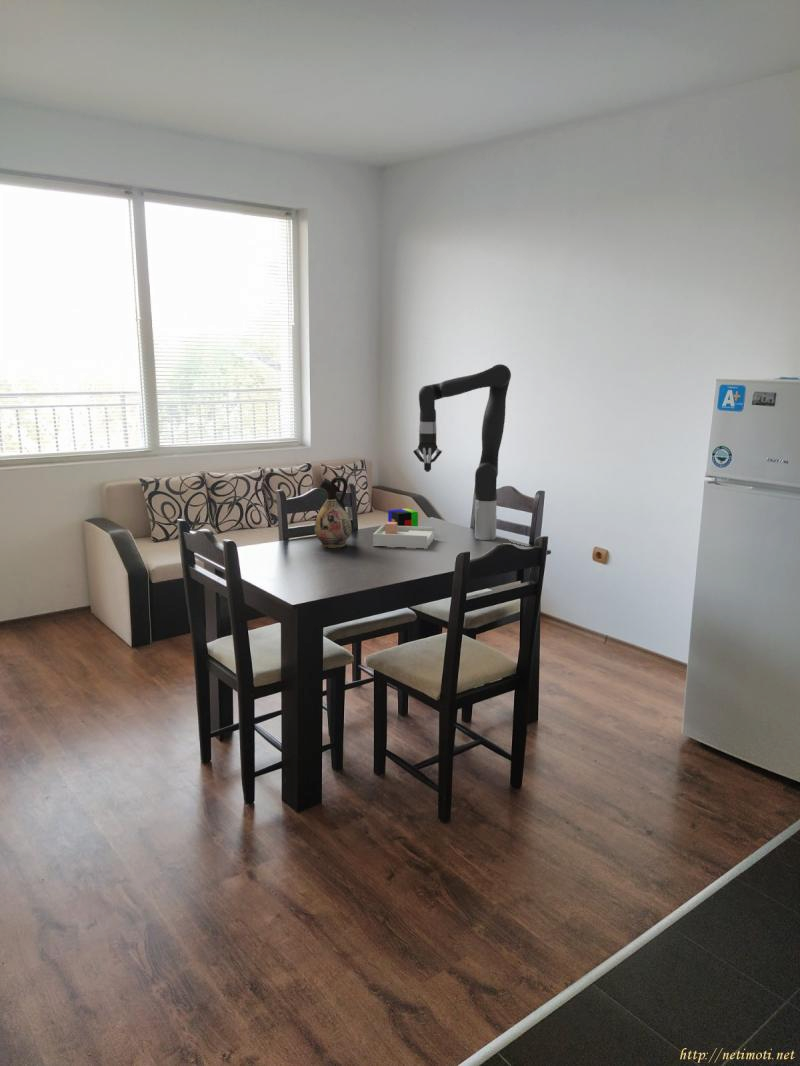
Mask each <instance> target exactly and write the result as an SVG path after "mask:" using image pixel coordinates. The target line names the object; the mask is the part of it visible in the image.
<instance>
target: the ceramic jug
mask: <svg viewBox="0 0 800 1066" xmlns="http://www.w3.org/2000/svg"><path fill="white" fill-rule="evenodd" d="M337 482H340V483H342V484H343V487H342V491H341V494H340V497H339V498H338V496H337V493H338V492H340V487H338V485H337V484H336V483H337ZM316 488H317V489H320V490H323V491H325V492H326V493H327V498H326V501H324V503H323V505H322V506H321V508H320V509H319V512H318V513H317V516H316V519H315V523H314V533H315V535H316V537H317V539H318V540H319V541H320V543H321V546H322V547H323V548H325V547H328V548H327V549H337V547H338V548H342V547H345V546H346V542H347V541H348V539H349V537H350V536H351V535H352V521H351V518H350V516H349V514H348V512H347V509H346V505H345V501H344V499H345V498H346V493H347V489H348V482H347V478H345V477H343V476H342V475H339V476H334V477H333V478H332V480H331V481H328V480H327V479H323V480H322V482H321V483H320V484H318V486H317V487H316Z"/></svg>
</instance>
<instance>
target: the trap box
mask: <svg viewBox="0 0 800 1066" xmlns="http://www.w3.org/2000/svg"><path fill="white" fill-rule="evenodd" d="M434 529H435V527H434V526H418V527H415V526H397V533H396V534H385V524H382V525H381V526H380V527H379V528H378V529H377V530H376V531H375V532H373V533H372V546H387V547H386V548H395V547H406V548H405V549H416V548H424V549H423V550H428V548H429V547H430V546H431V543H432V542H433V541H434V540H435V538H434V535H435V534H434V533H435V532H434ZM433 539H434V540H433ZM428 546H429V547H428Z"/></svg>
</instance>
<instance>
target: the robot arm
mask: <svg viewBox="0 0 800 1066" xmlns="http://www.w3.org/2000/svg"><path fill="white" fill-rule="evenodd" d="M511 378H512V373H511V370H510V368H509V367H508V366H507V365H505V364H499V363H498V364H496V365H493V366H492V367H490V368H487V369H485V370H483V371H480V372H478V373H474V374H471V375H470V374H469V375H465V376H460V377H455V378H451V379H450V378H449V379H447V380H444V381H441V382H439V383H433V384H428V385H424V386H422V387H421V388H420V389H419V392H418V403H419V424H418V425H419V427H418V428H419V429H418V433H419V434H418V437H419V438H418V440H419V441H418V443H419V444H418V446H417V448H416V449H414V450H413V454H414V456H416V458H417V459H418V460H419V461H420V462H421V463H424V464H423V469H424V471H425V472H427V473H428V472H429V473H430V471H431V470H432V463H434V462H435V461H437V459H438V458H439V456H440V455H441V454H442V453H443V450H441V449H439V448H438V445H437V411H436V408H435V404H436V401H437V400H440V399H444V398H450V397H451V398H452V397H455V396H458V395H461V394H465V393H469V392H471V391H475V390H477V389H478V390H479V389H482V388H489V393H488V398H487V399H488V400H487V401H486V402H487V403H486V406H485V409H484V412H483V413H484V414H483V418H482V427H481V455H480V460H479V464H478V467H477V469H476V470H475V472H474V473H475V474H474V494H475V498H474V499H475V501H474V502H475V505H474V507H475V509H474V538H475V539H477V540H481V541H494V540H496V539H497V500H498V499H497V497H498V496H497V495H498V493H497V481H498V480H497V477H498V474H499V454H500V453H499V452H500V448H501V445H502V440H503V435H504V430H505V421H506V407H507V406H506V399H507V395H508V394H507V393H508V390H509V389H508V388H509V385H510V381H511ZM420 453H421V454H420ZM434 453H435V455H434ZM433 455H434V457H433Z"/></svg>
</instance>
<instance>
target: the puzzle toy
mask: <svg viewBox="0 0 800 1066" xmlns="http://www.w3.org/2000/svg"><path fill="white" fill-rule="evenodd" d="M387 511H388V512H387V515H388V516H387V517H388V519H387V522H397V526H415V527H419V524H418V523H419V512H418V510H417V511H416V510H413V509H411V508H398V509H388V510H387Z"/></svg>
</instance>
